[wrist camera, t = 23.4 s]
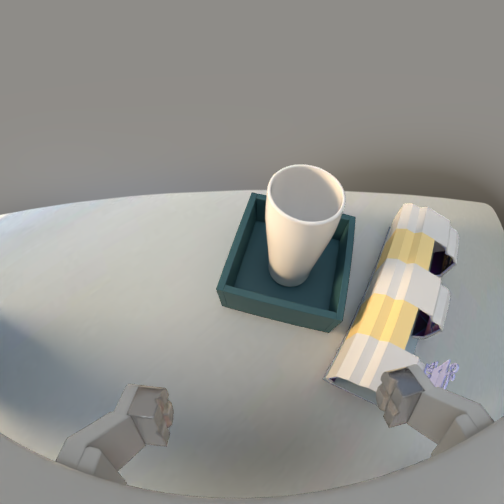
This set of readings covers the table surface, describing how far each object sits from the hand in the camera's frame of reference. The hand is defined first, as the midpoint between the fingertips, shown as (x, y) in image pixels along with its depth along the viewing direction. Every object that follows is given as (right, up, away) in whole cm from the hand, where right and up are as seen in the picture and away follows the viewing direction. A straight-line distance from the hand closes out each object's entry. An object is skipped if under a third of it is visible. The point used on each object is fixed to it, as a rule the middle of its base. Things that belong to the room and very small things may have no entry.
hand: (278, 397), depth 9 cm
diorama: (+18, -3, +24) cm, 30 cm away
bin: (+4, +3, +27) cm, 27 cm away
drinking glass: (+4, +3, +26) cm, 27 cm away
